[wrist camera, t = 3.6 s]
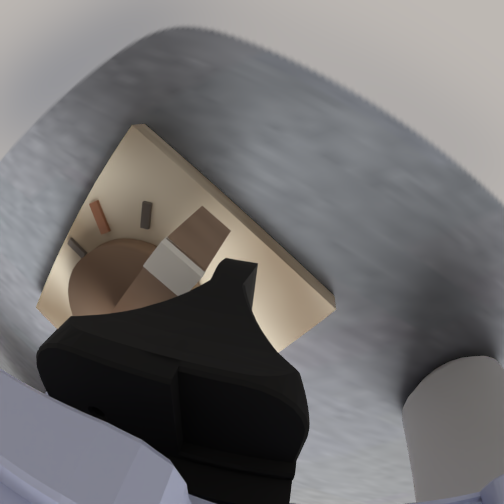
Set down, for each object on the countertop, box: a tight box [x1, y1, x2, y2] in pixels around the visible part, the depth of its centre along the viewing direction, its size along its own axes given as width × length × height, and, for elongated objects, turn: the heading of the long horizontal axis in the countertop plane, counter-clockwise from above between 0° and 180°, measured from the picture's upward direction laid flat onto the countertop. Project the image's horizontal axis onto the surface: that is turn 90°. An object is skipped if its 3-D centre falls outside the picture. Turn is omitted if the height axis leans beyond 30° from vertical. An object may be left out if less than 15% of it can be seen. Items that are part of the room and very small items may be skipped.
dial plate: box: [36, 124, 336, 353], centre depth 16 cm, size 14×12×1 cm
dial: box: [68, 206, 231, 316], centre depth 13 cm, size 11×8×5 cm
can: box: [402, 356, 504, 503], centre depth 11 cm, size 8×8×12 cm
